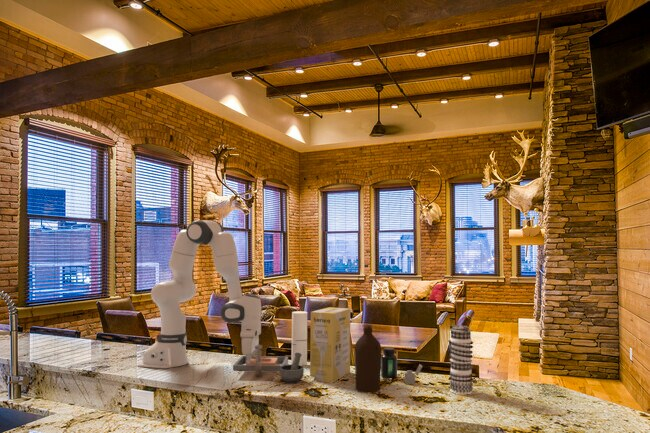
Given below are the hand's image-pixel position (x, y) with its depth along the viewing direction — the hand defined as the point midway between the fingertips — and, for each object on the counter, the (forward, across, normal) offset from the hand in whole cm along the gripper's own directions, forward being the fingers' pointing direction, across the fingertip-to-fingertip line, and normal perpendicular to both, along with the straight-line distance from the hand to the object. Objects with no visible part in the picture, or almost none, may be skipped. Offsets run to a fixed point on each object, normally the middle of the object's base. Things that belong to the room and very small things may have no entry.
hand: (250, 360), depth 215 cm
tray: (+3, 0, +5) cm, 6 cm away
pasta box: (+4, +10, +37) cm, 38 cm away
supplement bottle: (+4, +10, +62) cm, 63 cm away
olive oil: (+4, +28, +52) cm, 59 cm away
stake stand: (+3, +18, +7) cm, 20 cm away
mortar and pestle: (+4, +24, +22) cm, 33 cm away
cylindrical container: (+4, -4, +22) cm, 22 cm away
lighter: (+4, +20, +71) cm, 74 cm away
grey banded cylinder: (+4, +29, +88) cm, 93 cm away
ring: (+3, 0, +5) cm, 6 cm away
